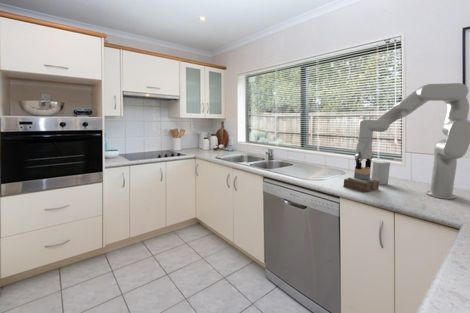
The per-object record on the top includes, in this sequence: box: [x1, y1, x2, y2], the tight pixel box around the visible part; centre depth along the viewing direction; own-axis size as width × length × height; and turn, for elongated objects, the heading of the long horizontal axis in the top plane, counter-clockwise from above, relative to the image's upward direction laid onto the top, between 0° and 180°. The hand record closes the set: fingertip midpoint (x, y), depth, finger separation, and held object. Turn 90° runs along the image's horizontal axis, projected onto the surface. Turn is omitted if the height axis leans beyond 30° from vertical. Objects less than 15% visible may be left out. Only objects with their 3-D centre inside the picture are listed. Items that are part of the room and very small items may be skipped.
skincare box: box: [371, 160, 391, 186], centre depth 162 cm, size 8×6×15 cm
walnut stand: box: [343, 176, 380, 193], centre depth 152 cm, size 14×14×6 cm
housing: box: [353, 166, 372, 180], centre depth 151 cm, size 5×7×7 cm
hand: (363, 168), depth 150 cm, fingers open, 9 cm apart
